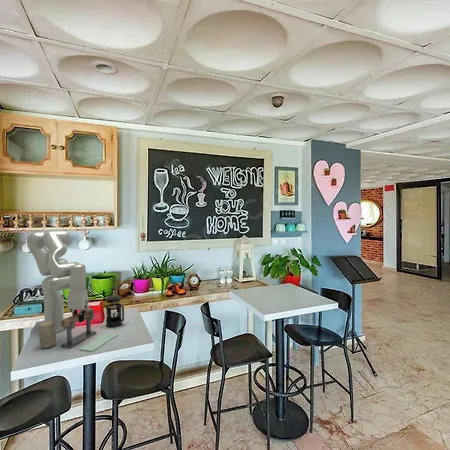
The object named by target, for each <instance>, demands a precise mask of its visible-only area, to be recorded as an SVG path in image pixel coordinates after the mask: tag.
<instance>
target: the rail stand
mask: <svg viewBox="0 0 450 450" xmlns="http://www.w3.org/2000/svg"><path fill="white" fill-rule="evenodd" d="M94 318H95V312H94V313H93V312H92V313H90V316H88V317H86V318H84V320H85V322H86V324H85V325H86V326H85V327H86V329H85V331H84V332H82V333H81V334H78V335H77V336H74V337H73V333H72V330H73V329H76V328H75V327H76V323H75V321H73V322H71V325H70V326H67V327H63V329H65V330H66V341H65V342H64V343H61V344H60V348H64V349H72V348H74V347H76V346H78V345H79V344H81V343H83V342H84V341H86V340H88V339H90V338H91V337H94V336H95V335H96V334H97V331H96V330H95V331H94V330H92V326H91V325H92V321H91V320H93V319H94Z"/></svg>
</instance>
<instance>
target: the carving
mask: <svg viewBox="0 0 450 450" xmlns="http://www.w3.org/2000/svg"><path fill="white" fill-rule="evenodd" d="M38 330H39V331H38V339H39V343H40V347H41V348H42V349H47V348H51V347H53V346H54V345H56V343H57V334H56V333H55V327H54V323H53V322H45V323H43V324H41V323H40V325H39V329H38Z"/></svg>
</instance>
